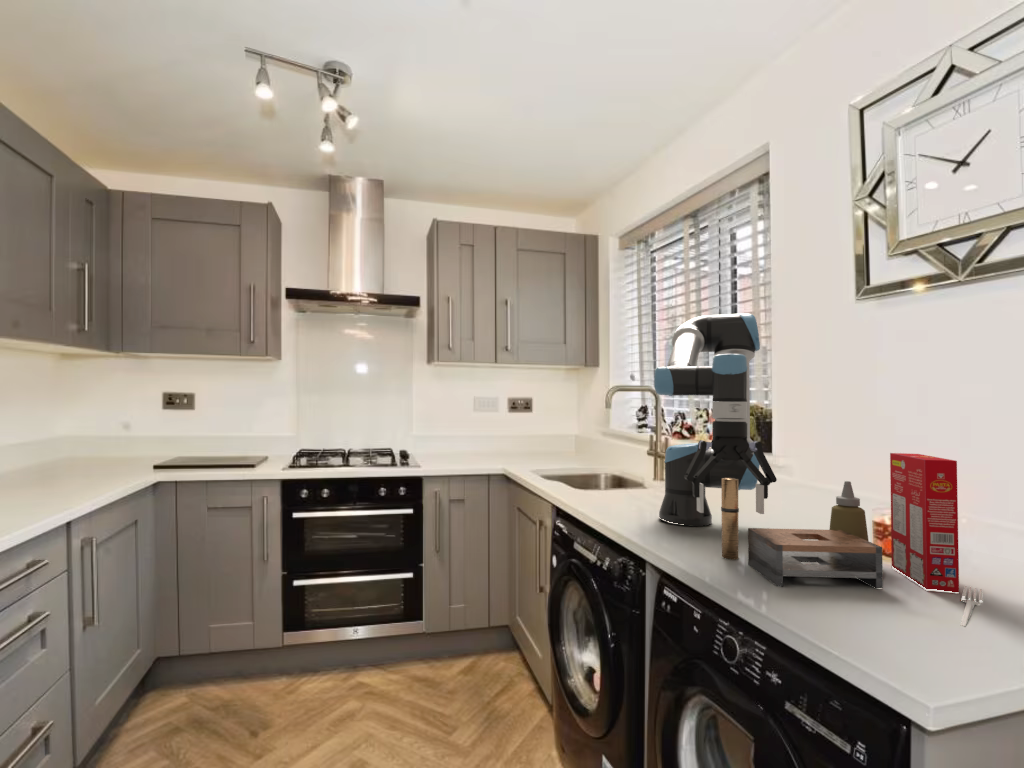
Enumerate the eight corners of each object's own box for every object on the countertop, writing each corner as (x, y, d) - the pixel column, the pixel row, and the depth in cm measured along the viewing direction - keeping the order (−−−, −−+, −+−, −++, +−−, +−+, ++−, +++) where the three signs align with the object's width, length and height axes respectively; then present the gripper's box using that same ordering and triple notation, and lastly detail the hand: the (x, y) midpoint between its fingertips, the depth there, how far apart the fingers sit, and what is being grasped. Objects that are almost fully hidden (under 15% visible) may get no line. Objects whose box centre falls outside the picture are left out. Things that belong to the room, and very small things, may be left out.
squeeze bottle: (832, 564, 119) (831, 482, 120) (824, 554, 127) (823, 478, 127) (874, 568, 116) (873, 485, 117) (864, 558, 124) (863, 480, 124)
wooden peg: (718, 554, 126) (718, 477, 126) (735, 555, 125) (735, 477, 126) (724, 559, 122) (724, 479, 122) (741, 559, 122) (741, 480, 122)
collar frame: (748, 564, 118) (748, 528, 118) (841, 566, 117) (841, 530, 117) (776, 586, 104) (776, 544, 104) (882, 589, 103) (882, 547, 103)
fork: (949, 628, 87) (949, 616, 87) (962, 594, 101) (962, 584, 101) (976, 634, 85) (976, 622, 85) (985, 599, 99) (985, 589, 99)
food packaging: (959, 593, 101) (956, 460, 102) (927, 591, 102) (924, 459, 103) (919, 570, 115) (917, 453, 116) (891, 568, 117) (890, 453, 117)
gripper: (679, 420, 122) (679, 514, 121) (792, 421, 120) (792, 516, 120) (671, 419, 129) (671, 507, 128) (777, 420, 128) (777, 510, 127)
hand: (729, 512), depth 124 cm, fingers open, 13 cm apart
